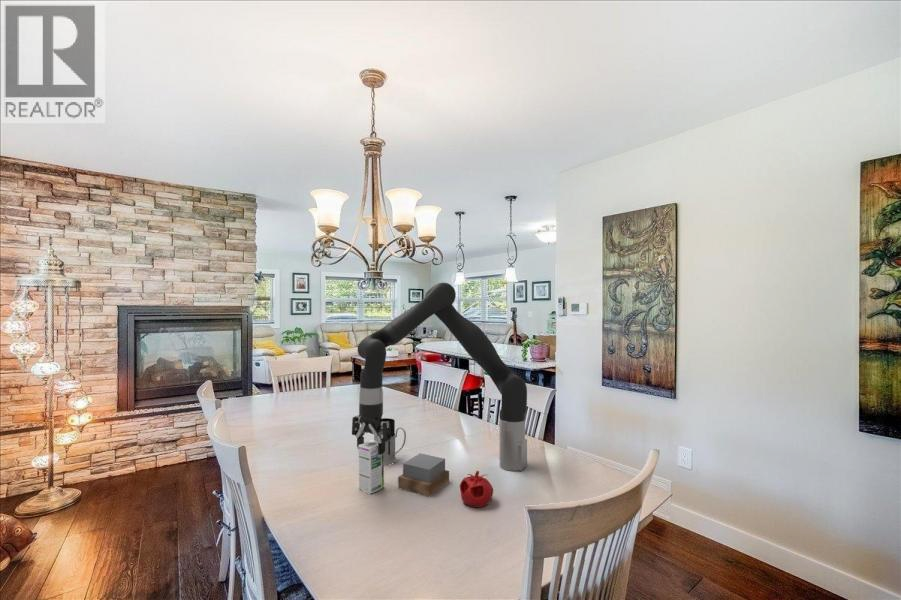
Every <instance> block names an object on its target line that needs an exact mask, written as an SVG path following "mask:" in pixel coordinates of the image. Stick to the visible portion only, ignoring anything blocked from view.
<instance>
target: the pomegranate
mask: <svg viewBox="0 0 901 600" xmlns="http://www.w3.org/2000/svg"><path fill="white" fill-rule="evenodd" d="M479 474H480V471H479V470H476V471H475V473H474V475H473V474H472V473H468V474H467V476H466V477H463V479H462V480H461V481H460V484H459V491H460V492H459V493H460V497H461V500H462V502H463V503H464V504H465V505H468V506H471V507H474V508H480V507H485V506H487V505H488V503H489V502H491V501H492V498H493V496H494V495H493V494H494V487H493V485H492V484H491V483H490V482H489V480H488V479H487V478H485V477H484V476H488V475H489V474H483V475H479Z"/></svg>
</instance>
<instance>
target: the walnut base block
mask: <svg viewBox="0 0 901 600" xmlns="http://www.w3.org/2000/svg"><path fill="white" fill-rule="evenodd" d="M397 481H398V482H397V483H398V484H397V485H398V486H397V487H398V489H400V488H402V489H401V490H404V489H406V490H405V491H407V490H409V491H408V492H411V491H412V493H415V494H418V493H420V494H419V495H422V496H425V495H426V497H429V496H430V497H432V496H433V495H434V494H435V493H437V492H438V491H439V490H441V488H443V487H444V486H446V485H447V484H448V483H449V482H450V470H447V469H445V471H444V472H443V473H441V474H440V475H439V476H437V477H436V478H435V479H433V480H432V481H431V482H425V481H421V480H417V479H414V478H410V477H406V476H403V473H402V474H400V475H399V476H398V479H397Z"/></svg>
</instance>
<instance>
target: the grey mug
mask: <svg viewBox="0 0 901 600" xmlns="http://www.w3.org/2000/svg"><path fill="white" fill-rule="evenodd" d="M382 421H383V422H387V421H390V428H391V440H389V441H387V442H385V452H384V453H383V458H384V465H386V466H390V465H389V464H391V465H393V464H395V463H396V462H397V458H396V455H397V454H398V453H399V452H400V451H401V450H403V448H404V446H405V443H406V439H407V433H406V429H405V428H403V427H402V426H400V427H397V429H396V427H395V426H396V425H395V424H396V423H395V422H396V420H395V419H394V418H386V417H385V418H382ZM381 427H382V426H381ZM382 429H383V428H382ZM395 429H396V430H395ZM399 429H400V430H402V431H403V437H404V438H403V443H402V445H401V447H400V448H399V449H398V450H397V451H396V438H397V436H398V431H399ZM377 433H379V431H378V432H377ZM380 437H381V436H380ZM381 439H382V438H381ZM373 440H374V441H378V440H377V438H376V437H375V436H374V435H373ZM392 463H393V464H392Z"/></svg>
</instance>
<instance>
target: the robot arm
mask: <svg viewBox="0 0 901 600" xmlns="http://www.w3.org/2000/svg"><path fill="white" fill-rule="evenodd" d="M456 293H457V292H456V290H455V287H453V285H451V284H450V283H449V282H448V283H447V282H439V283H436V284H435V285H433V286H432V287H430V288H429V289H428V290H427V291H426V292H425V295H424V297H423V298H422V299H421V300H420V301H419V302H417V303H416V304H415V305H413V306H412V307H409V309H408V310H407V309H406V311H404V312H403V313H401V314H400V315H398V316H397V317H395V318H394V319H392V320H391V321H390V322H388V323H387V324H385V326H383V327H382V328H380V329H379V330H376V331H375V332H372V333H371V334H368V335H367V336H365V337H364V338H363V339H361V341H360V342H359V343H358V345H357V353H358V356H359V357H360V358H362V359H363V360H364V368H363V369H362V370H361V371H360V377H359V378H360V379H359V383H360V384H359V385H360V386H359V392H358V393H359V394H358V395H359V396H358V397H359V398H358V399H359V401H358V403H359V404H358V415H356V416H355V415H354V416H353V417H352V420H351V421H352V422H351V423H352V424H351V435H352V436H355V438H356V448H358V445H360V444H363V443H365V436H364V435H365V434H367V433H370V434H372V435H373V437H374V436H375V437H376V438H377V440H378V442H379V443H378V454H379V455H381V454H383V453H384V452H385V442H387V441H389V440H391V428H390V421H387V422H383V421H382V419H383V418H382V417H383V414H384V390H383V372H384V368H385V364H386V358H387V349H386V348H387V347H390V346H395V345H396V344H398V343H399V342H401V341H402V340H403V339H404V338H406V337H407V336H409V335H410V334H411V333H412V332H413V331H414V330H416V329H417V328H419V326H420V325H421V324H423V323H424V322H425V321H427V319H429V318H430V317H432V316H434V315H435V316H436V317H437V318H438V320H440V321H441V322H442V323H443V325H445V326H446V327H447V329H448V330H449V332H450V333H451V334H452V335H453V336H454V338H455V339H456V340H457V341H458V342H459V344H460V346H461V347H462V349H464V350H465V352H467V354H468V355H469V356H470V358H472V359H473V361H474V362H475V363H476V364H477V365H478V366H479V367H480V368H482V369H483V370H484V371H485V372H486V374H487V375H488V376H489V378H490V379H491V381H492V382H493V384H494V386H495V388H496V389H497V390H498V392H499V393H500V394H501V408H500V410H499V467H500V468H502V469H503V470H506V471H509V472H510V471H512V472H518V471H519V472H522V471H523V470H524V469H525V468H526V467H527V466H528V439H527V438H526V414H527V410H528V409H527V408H528V407H527V406H528V387H527V386H528V385H527V384H526V382H525V380H524V379H523V378H522V377H520V376H518V375H517V374H516V373H515V372H513V370H511V369H510V367H509V366H507V364H506V363H505V362H504V361H503V360H502V358H501V357H500V356H499V353H498V351H497V350H496V348H495V346H494V345H493V343H492V342H491V340H490V339H489V337H488V336H487V335H486V333H484V331H483V329H481V328H480V327H479V326H478V325H476V324H475V323H474V322H472V321H471V320H469V319H468V318H466V317H464V316H463V315H462V314H460V312H459V311H458V310H457V309H456V308H455V306H454V305H453V304H454V302H455V301H456V298H457V296H456V295H457V294H456ZM381 426H382V427H381ZM382 428H383V429H382ZM378 431H379V433H377V432H378ZM380 436H381V437H380ZM381 438H382V439H381Z"/></svg>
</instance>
